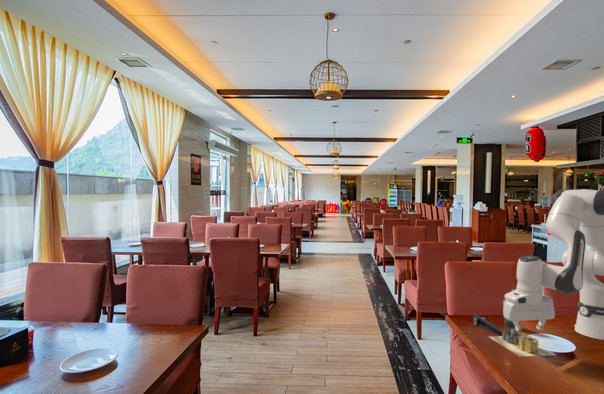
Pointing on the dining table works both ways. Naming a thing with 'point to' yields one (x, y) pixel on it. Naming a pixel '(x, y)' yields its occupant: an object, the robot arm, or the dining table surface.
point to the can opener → (485, 324)
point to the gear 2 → (528, 344)
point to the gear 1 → (511, 337)
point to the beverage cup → (507, 322)
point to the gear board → (517, 350)
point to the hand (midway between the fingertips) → (528, 330)
